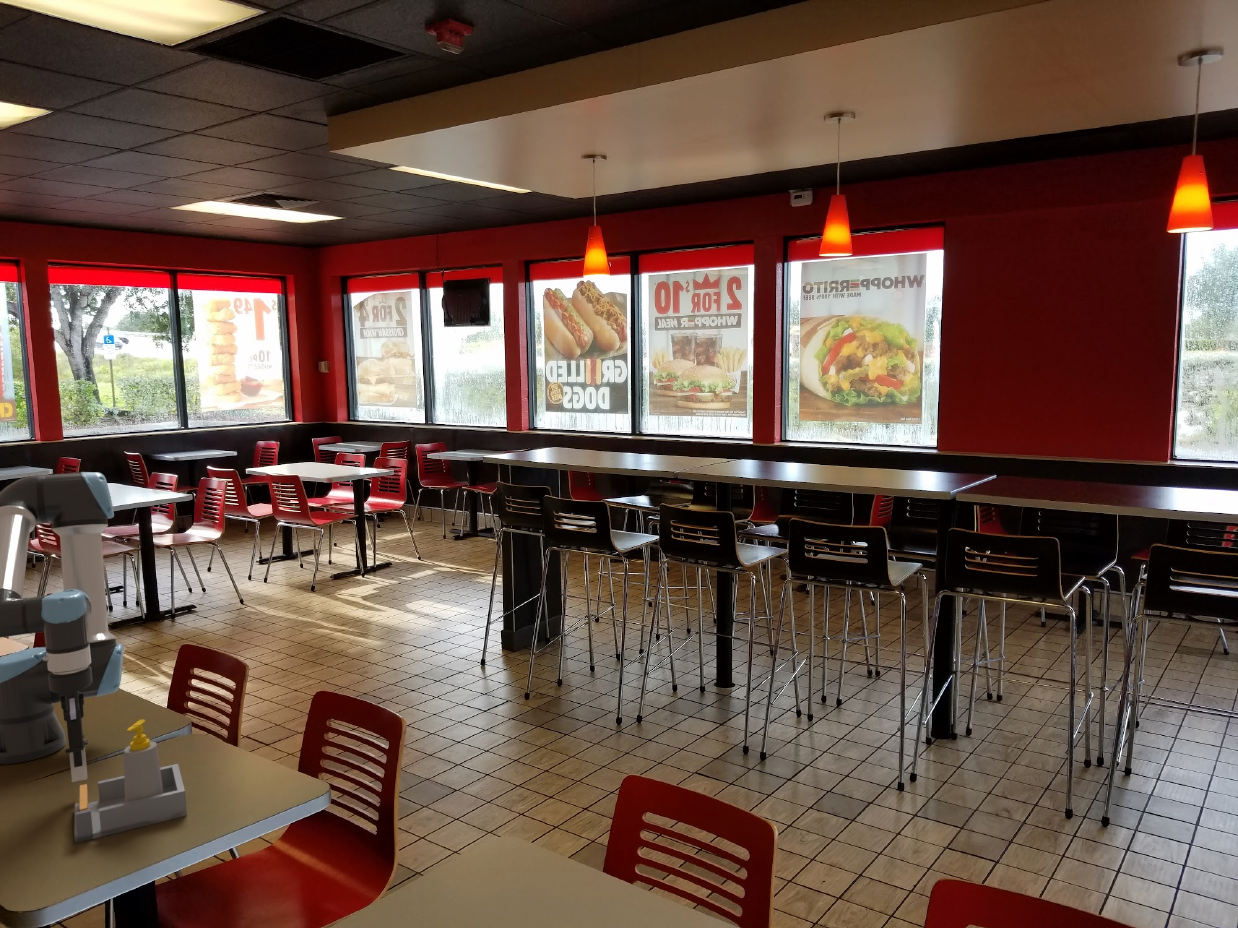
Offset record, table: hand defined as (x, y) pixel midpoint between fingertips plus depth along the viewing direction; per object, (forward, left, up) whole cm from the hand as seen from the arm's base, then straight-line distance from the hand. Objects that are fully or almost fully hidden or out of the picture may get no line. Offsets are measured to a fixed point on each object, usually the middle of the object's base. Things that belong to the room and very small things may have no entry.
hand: (79, 778), depth 181 cm
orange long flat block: (+13, +1, -3) cm, 14 cm away
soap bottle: (+17, +11, -3) cm, 20 cm away
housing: (+14, +8, -4) cm, 17 cm away
